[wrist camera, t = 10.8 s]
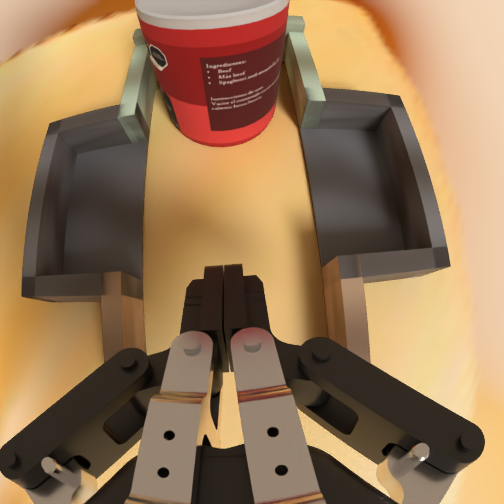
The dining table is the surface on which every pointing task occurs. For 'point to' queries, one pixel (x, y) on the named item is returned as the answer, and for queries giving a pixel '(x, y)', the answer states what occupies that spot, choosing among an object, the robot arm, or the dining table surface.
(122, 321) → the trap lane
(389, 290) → the dining table surface
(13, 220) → the dining table surface
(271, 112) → the canned food
